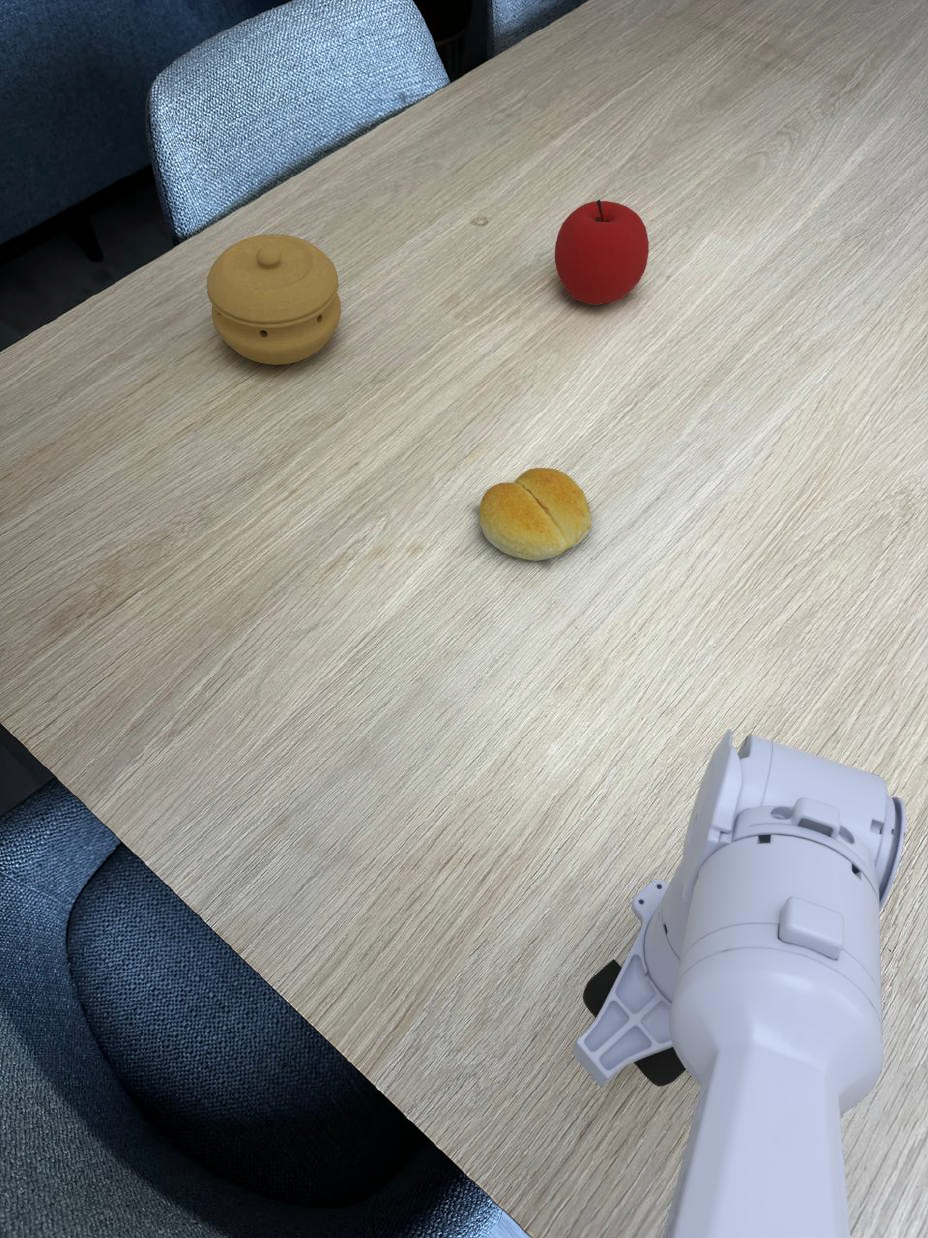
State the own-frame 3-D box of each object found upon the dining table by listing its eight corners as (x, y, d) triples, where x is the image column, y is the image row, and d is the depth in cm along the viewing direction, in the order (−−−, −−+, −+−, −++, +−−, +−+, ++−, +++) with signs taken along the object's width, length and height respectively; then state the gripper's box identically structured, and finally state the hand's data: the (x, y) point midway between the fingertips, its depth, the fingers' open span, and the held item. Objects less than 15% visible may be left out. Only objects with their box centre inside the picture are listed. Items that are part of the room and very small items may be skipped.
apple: (626, 328, 100) (644, 237, 92) (537, 306, 102) (547, 214, 94) (650, 274, 105) (669, 183, 97) (565, 253, 107) (576, 162, 99)
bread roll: (461, 512, 86) (462, 479, 83) (551, 474, 89) (556, 440, 85) (513, 581, 82) (517, 549, 78) (606, 539, 85) (613, 506, 81)
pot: (202, 319, 99) (182, 227, 91) (317, 289, 102) (308, 197, 94) (240, 397, 93) (222, 305, 85) (362, 362, 96) (356, 271, 88)
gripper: (770, 758, 48) (706, 869, 59) (537, 955, 43) (515, 1037, 54) (893, 871, 45) (802, 966, 56) (660, 1099, 40) (610, 1155, 51)
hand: (668, 1008), depth 55 cm, fingers closed on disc, 5 cm apart
